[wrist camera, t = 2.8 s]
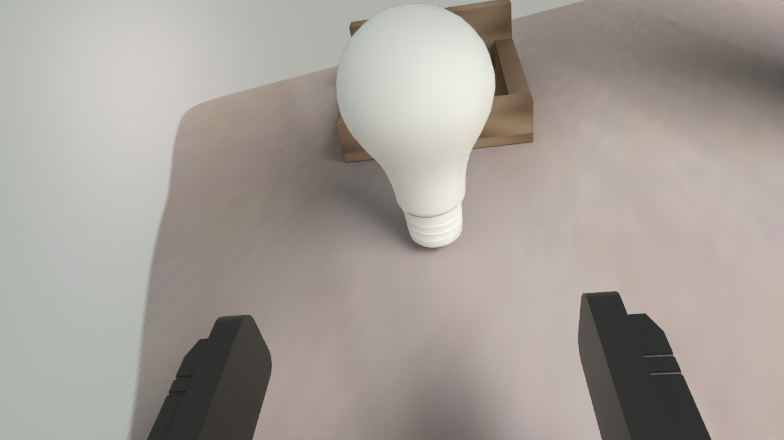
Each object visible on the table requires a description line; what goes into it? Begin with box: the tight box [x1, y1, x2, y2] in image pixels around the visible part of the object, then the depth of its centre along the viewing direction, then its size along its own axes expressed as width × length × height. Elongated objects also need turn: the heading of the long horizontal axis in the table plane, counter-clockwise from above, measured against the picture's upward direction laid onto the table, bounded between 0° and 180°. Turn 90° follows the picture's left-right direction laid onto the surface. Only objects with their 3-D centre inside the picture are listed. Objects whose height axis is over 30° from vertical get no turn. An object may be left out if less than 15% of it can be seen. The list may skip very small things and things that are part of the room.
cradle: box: [336, 0, 533, 162], centre depth 34 cm, size 11×11×5 cm
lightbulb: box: [336, 3, 495, 248], centre depth 22 cm, size 6×6×11 cm
